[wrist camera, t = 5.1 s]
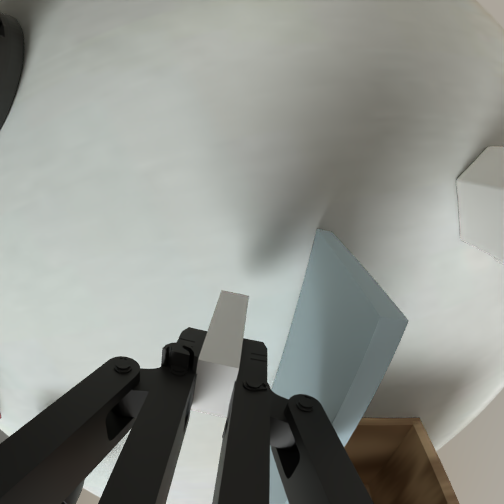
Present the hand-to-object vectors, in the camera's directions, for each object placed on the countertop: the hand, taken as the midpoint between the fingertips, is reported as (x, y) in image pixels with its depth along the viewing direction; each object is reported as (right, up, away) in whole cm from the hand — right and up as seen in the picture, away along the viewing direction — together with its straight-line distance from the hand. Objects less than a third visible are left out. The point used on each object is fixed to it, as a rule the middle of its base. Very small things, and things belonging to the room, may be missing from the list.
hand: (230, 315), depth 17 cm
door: (+4, -2, +5) cm, 7 cm away
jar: (+20, +7, +2) cm, 21 cm away
